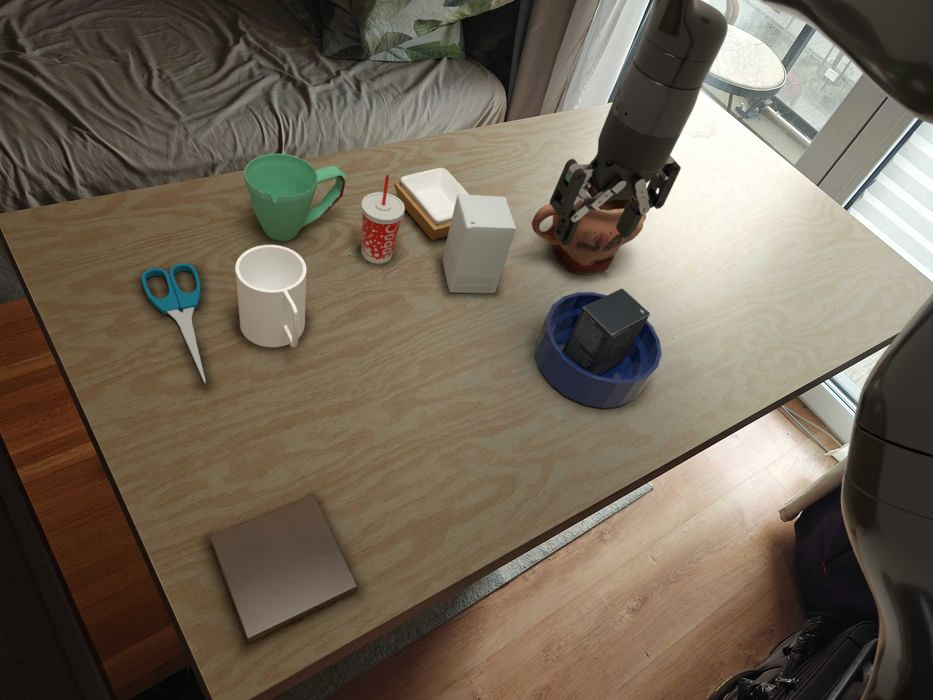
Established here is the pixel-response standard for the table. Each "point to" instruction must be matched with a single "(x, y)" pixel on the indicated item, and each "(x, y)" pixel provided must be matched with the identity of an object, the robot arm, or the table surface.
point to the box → (605, 332)
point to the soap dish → (430, 199)
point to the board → (282, 567)
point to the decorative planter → (588, 236)
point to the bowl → (580, 383)
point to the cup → (271, 295)
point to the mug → (289, 193)
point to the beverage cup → (380, 224)
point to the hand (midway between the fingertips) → (593, 236)
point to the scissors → (172, 307)
